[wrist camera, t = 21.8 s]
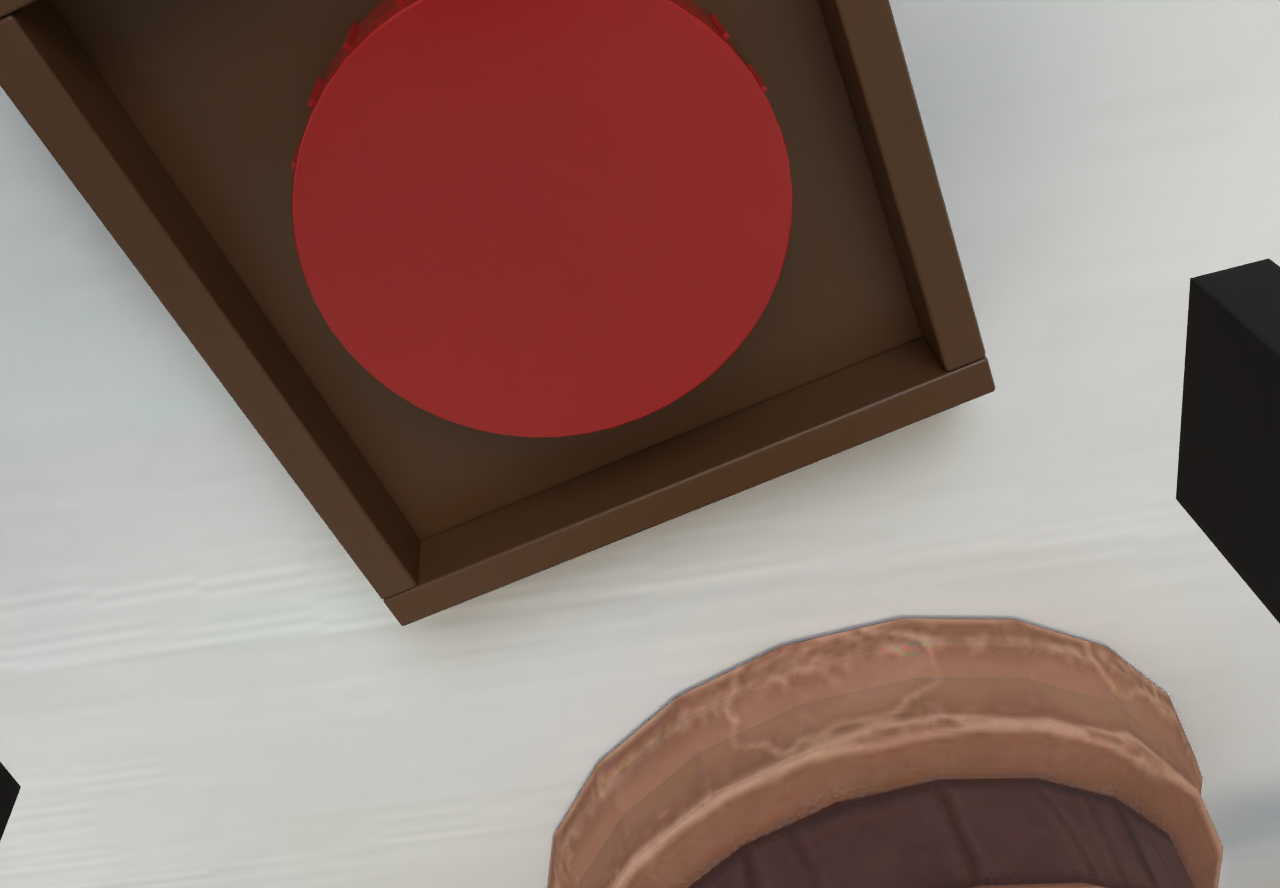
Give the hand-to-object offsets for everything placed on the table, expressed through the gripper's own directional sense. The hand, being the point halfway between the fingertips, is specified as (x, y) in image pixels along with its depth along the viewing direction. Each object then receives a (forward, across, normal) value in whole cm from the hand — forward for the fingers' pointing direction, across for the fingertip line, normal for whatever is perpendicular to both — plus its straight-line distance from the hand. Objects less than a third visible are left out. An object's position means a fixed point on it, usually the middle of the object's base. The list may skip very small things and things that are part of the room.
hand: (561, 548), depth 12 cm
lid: (+9, 0, 0) cm, 9 cm away
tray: (+11, 0, 0) cm, 11 cm away
